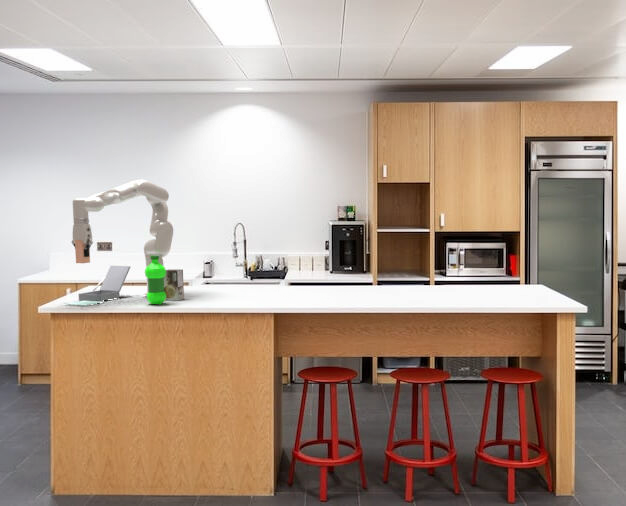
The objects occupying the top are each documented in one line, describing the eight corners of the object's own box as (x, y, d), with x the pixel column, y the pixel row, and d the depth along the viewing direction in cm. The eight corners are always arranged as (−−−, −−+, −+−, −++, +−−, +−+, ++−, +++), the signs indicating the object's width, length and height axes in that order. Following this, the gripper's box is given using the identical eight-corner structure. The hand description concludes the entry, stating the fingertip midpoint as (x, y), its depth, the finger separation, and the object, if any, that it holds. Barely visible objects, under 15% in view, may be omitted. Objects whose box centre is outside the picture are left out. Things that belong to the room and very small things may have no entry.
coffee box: (184, 299, 388) (183, 269, 387) (178, 300, 382) (177, 270, 381) (169, 298, 391) (168, 269, 390) (163, 300, 385) (162, 270, 384)
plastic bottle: (167, 304, 368) (166, 256, 366) (146, 306, 365) (144, 257, 363) (166, 302, 378) (164, 254, 376) (145, 303, 375) (143, 255, 373)
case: (131, 296, 403) (130, 266, 402) (98, 302, 381) (96, 270, 380) (111, 295, 411) (110, 265, 409) (77, 301, 389) (76, 269, 388)
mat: (104, 302, 380) (104, 301, 380) (84, 306, 368) (84, 305, 368) (85, 301, 387) (85, 300, 387) (65, 305, 375) (65, 303, 375)
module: (90, 262, 377) (89, 238, 376) (82, 263, 373) (81, 239, 372) (83, 262, 379) (82, 238, 378) (76, 263, 375) (74, 239, 374)
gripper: (98, 221, 373) (99, 256, 375) (75, 221, 382) (76, 255, 383) (87, 222, 367) (89, 257, 368) (64, 222, 375) (65, 256, 377)
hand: (82, 256), depth 376 cm, fingers closed on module, 5 cm apart
